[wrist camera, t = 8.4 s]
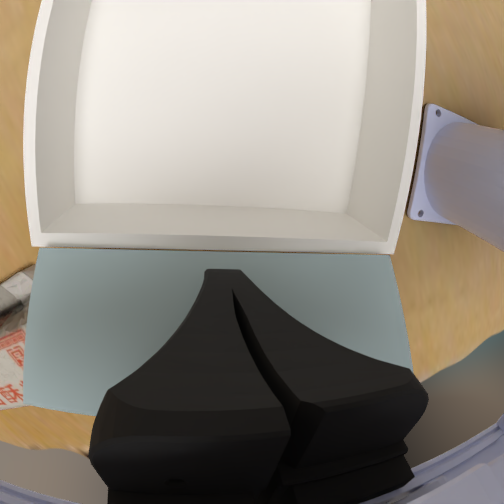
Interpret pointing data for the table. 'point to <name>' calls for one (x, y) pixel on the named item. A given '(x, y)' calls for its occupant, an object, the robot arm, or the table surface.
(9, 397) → the packaged product
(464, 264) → the table surface
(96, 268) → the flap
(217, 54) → the carton
